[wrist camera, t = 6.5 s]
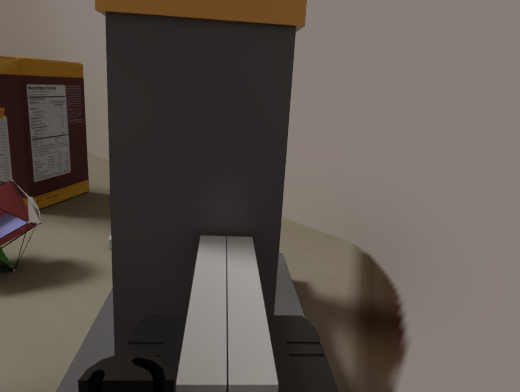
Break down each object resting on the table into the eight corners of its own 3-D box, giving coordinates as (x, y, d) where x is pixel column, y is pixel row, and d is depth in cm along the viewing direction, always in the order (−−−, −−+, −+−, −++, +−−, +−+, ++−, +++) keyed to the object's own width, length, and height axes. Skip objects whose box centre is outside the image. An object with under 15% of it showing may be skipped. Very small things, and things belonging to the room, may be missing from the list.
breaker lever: (271, 440, 15) (315, -103, 11) (109, 442, 14) (91, -127, 10) (262, 374, 18) (293, -59, 14) (130, 375, 17) (123, -75, 13)
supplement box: (-14, 179, 57) (-26, 56, 53) (90, 192, 54) (85, 62, 50) (-91, 197, 47) (-113, 48, 44) (30, 214, 44) (18, 55, 40)
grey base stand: (415, 732, 10) (502, 347, 7) (-102, 775, 9) (-203, 344, 6) (280, 277, 33) (290, 147, 31) (133, 274, 32) (132, 139, 29)
